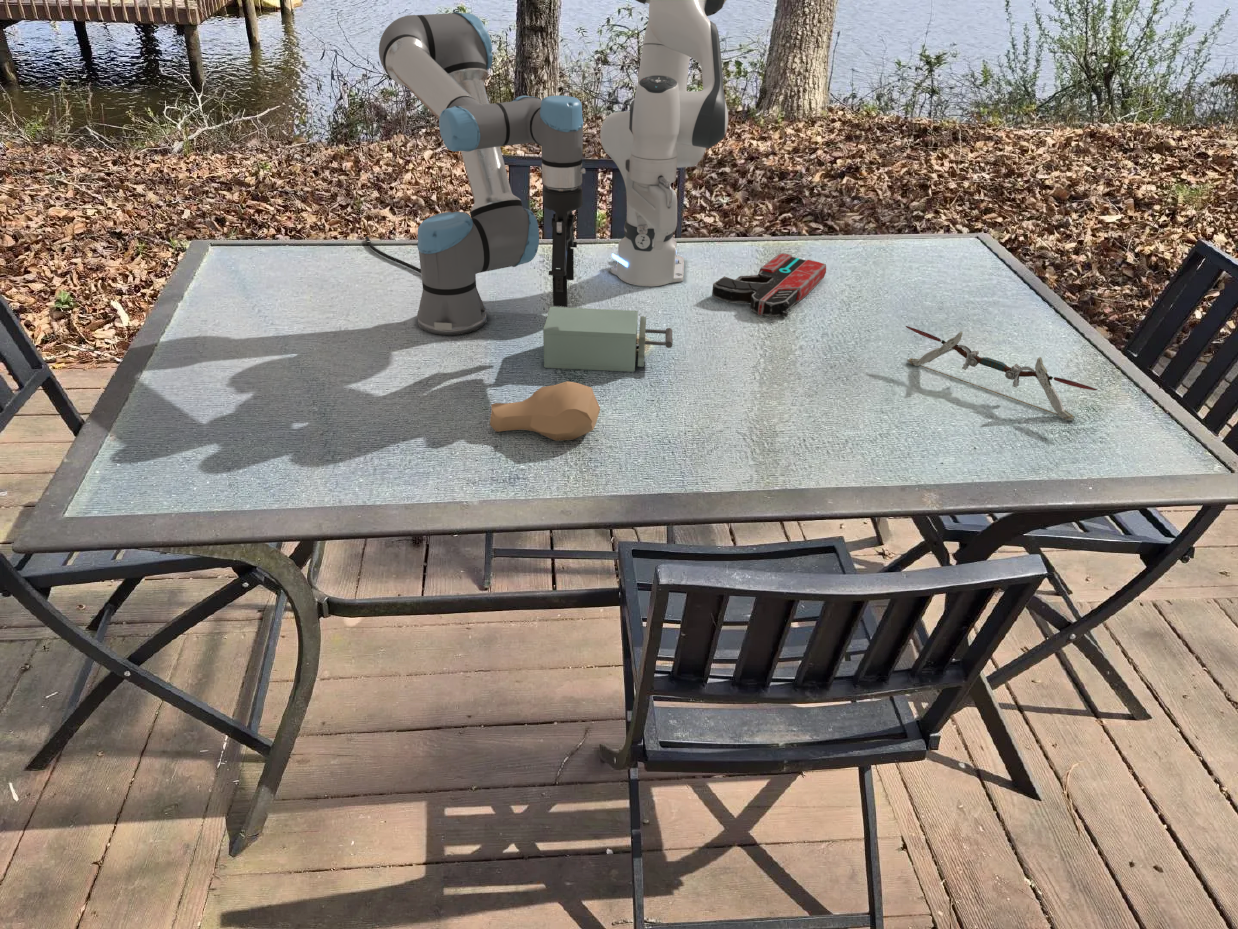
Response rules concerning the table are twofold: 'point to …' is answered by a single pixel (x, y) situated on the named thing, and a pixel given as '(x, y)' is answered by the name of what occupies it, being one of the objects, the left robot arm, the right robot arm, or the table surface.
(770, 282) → the gun
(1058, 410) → the bow
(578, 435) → the squash
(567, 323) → the grey box
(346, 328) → the table surface
